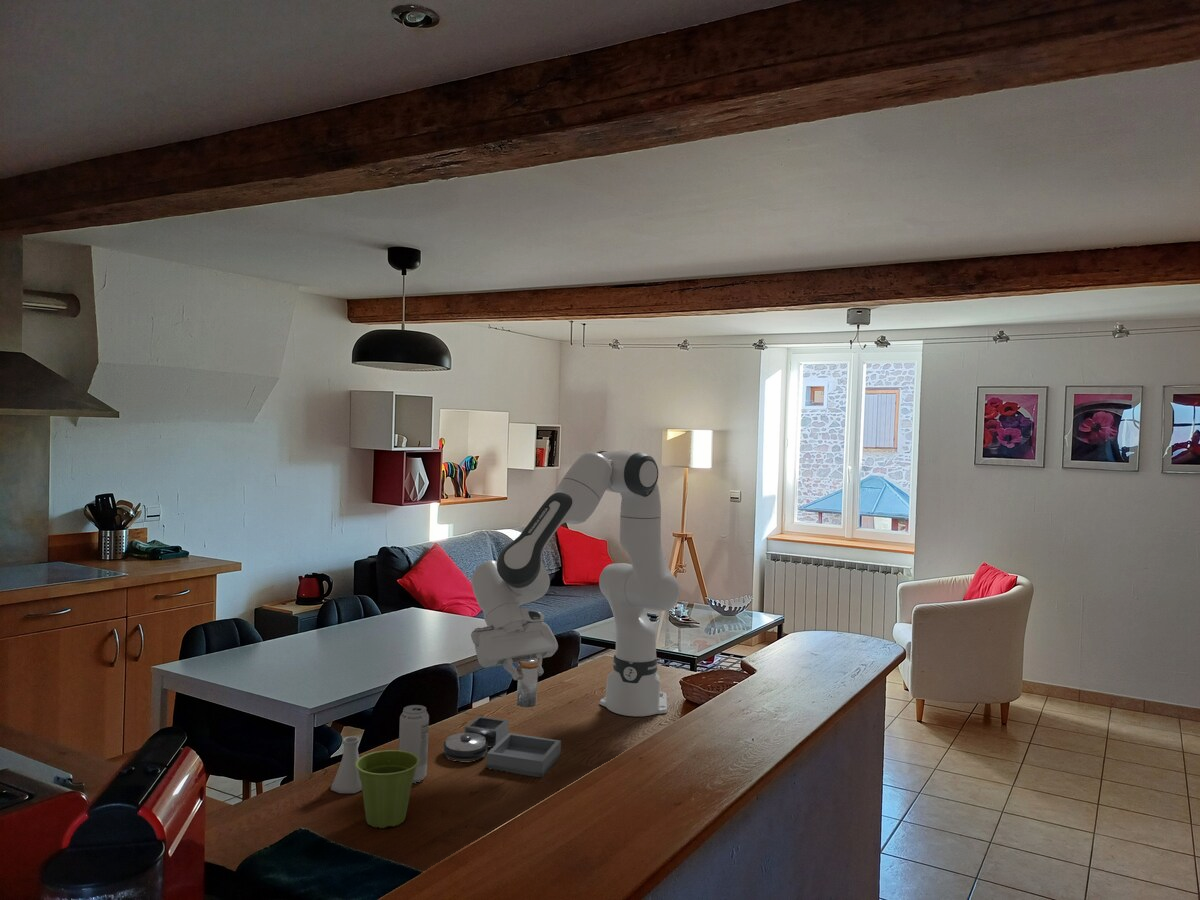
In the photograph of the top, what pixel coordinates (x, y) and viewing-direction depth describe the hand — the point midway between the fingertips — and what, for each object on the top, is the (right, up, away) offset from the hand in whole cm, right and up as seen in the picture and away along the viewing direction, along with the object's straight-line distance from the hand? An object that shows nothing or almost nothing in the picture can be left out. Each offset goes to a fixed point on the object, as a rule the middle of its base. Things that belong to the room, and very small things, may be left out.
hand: (529, 676), depth 185 cm
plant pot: (-25, -19, -29) cm, 43 cm away
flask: (-36, -19, -16) cm, 43 cm away
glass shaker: (-1, -6, +1) cm, 6 cm away
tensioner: (-14, -19, +8) cm, 25 cm away
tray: (-1, -20, +1) cm, 20 cm away
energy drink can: (-24, -19, -11) cm, 32 cm away
